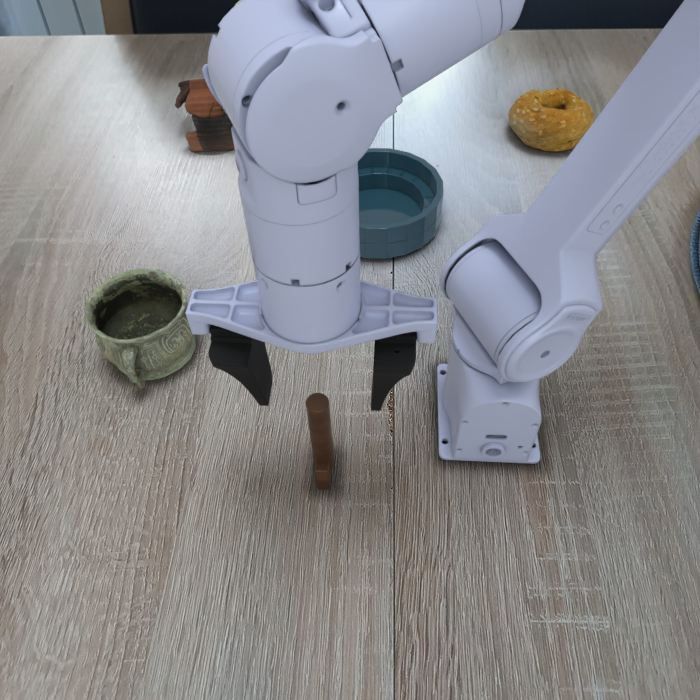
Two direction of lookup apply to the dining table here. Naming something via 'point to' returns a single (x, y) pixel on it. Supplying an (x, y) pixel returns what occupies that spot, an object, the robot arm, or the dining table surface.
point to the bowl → (397, 203)
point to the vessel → (142, 323)
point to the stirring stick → (321, 438)
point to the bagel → (550, 119)
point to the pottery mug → (205, 117)
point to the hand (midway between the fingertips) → (320, 396)
